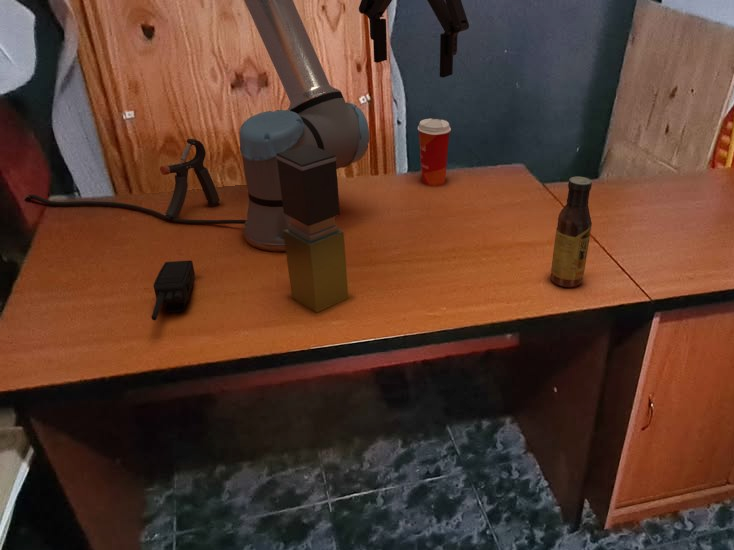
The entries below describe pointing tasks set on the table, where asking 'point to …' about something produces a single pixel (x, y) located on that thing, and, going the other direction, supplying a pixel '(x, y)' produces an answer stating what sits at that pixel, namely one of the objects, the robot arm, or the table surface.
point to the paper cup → (433, 150)
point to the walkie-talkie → (173, 286)
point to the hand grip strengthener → (181, 179)
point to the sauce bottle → (572, 235)
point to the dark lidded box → (308, 184)
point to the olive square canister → (316, 263)
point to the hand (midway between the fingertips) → (412, 68)
